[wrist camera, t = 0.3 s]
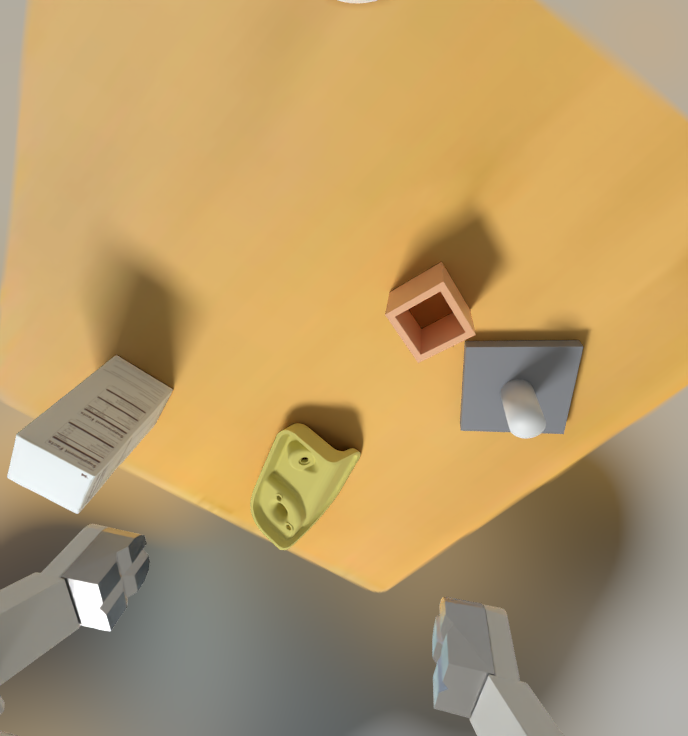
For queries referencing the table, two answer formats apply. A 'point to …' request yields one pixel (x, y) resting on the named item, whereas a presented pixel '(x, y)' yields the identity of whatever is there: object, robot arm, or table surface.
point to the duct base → (518, 365)
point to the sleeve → (439, 332)
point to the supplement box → (87, 434)
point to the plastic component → (298, 484)
